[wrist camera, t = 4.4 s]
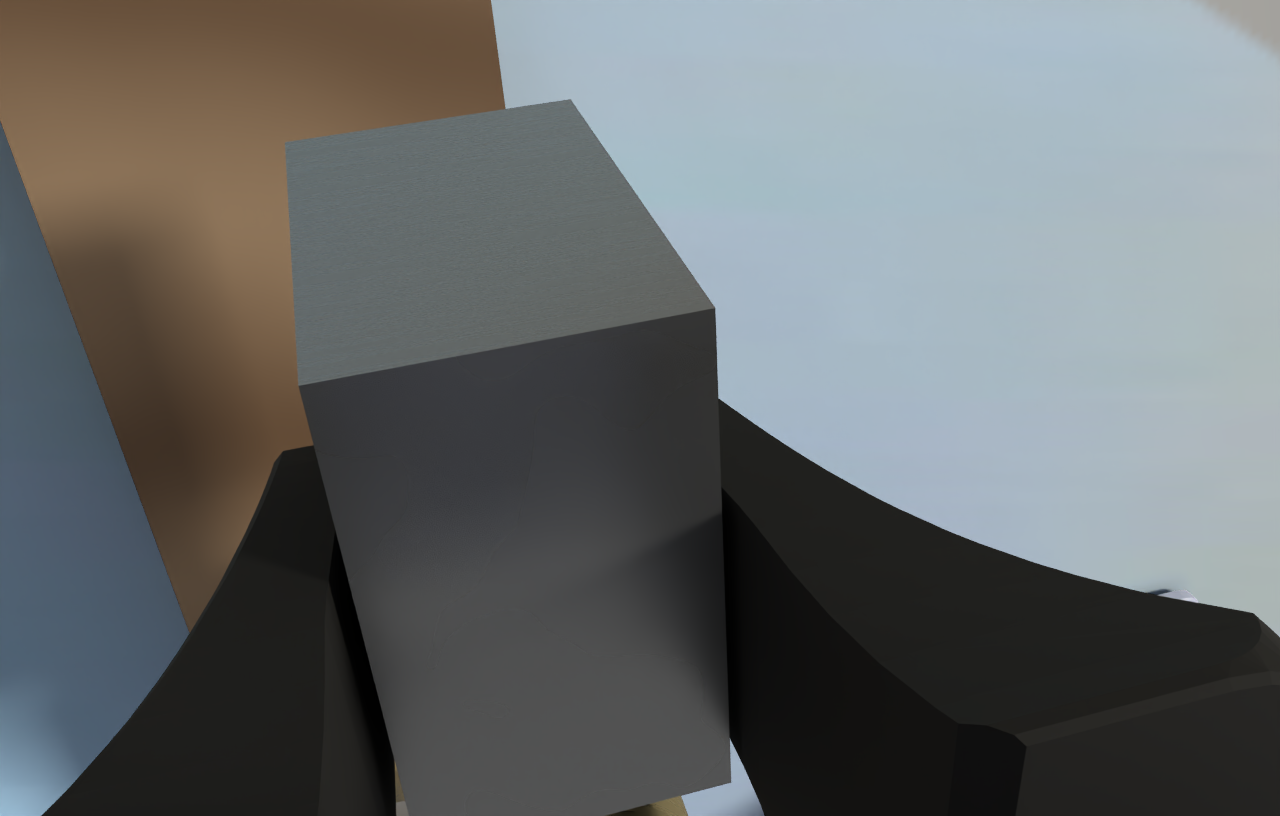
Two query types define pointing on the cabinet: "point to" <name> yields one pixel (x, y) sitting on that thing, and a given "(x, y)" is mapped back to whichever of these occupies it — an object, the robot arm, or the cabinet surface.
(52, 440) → the cabinet surface
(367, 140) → the grey post
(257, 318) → the hinge jig
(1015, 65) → the cabinet surface
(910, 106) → the cabinet surface
